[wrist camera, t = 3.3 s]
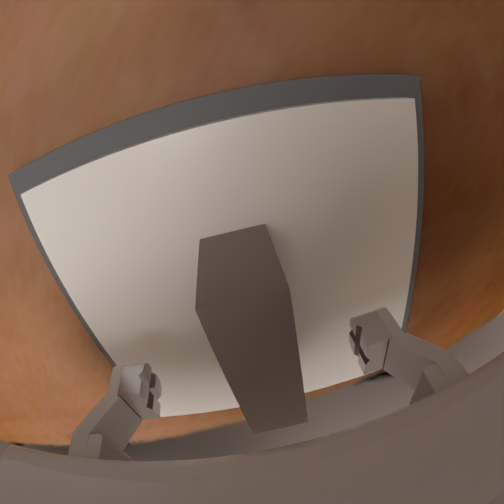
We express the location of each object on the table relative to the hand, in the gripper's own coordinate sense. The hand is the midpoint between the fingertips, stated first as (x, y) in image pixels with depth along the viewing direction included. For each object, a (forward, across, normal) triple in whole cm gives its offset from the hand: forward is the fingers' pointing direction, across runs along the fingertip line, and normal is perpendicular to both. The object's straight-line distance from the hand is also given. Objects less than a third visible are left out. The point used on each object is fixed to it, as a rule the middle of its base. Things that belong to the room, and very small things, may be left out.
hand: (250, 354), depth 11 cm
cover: (+3, 0, 0) cm, 3 cm away
